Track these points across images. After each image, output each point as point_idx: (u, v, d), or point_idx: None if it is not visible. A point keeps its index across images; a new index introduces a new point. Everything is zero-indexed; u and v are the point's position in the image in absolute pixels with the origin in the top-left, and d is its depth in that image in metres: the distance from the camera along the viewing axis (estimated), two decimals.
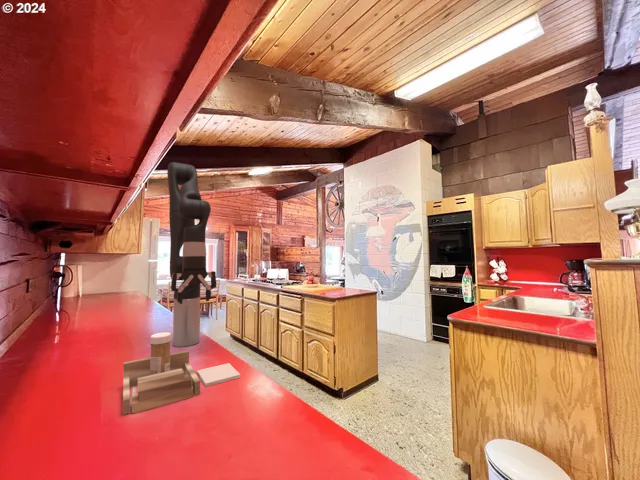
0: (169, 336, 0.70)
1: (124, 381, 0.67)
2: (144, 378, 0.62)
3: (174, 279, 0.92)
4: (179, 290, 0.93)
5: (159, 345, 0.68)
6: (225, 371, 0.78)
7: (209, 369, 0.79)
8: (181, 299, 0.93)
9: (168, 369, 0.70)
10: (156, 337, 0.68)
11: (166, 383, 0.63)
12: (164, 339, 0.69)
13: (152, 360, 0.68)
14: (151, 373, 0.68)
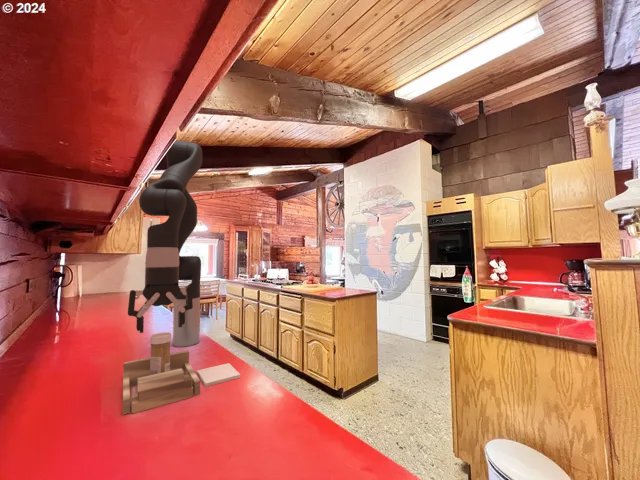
0: (169, 336, 0.70)
1: (124, 381, 0.67)
2: (144, 378, 0.62)
3: (132, 299, 0.66)
4: (139, 314, 0.67)
5: (159, 345, 0.68)
6: (225, 371, 0.78)
7: (209, 369, 0.79)
8: (142, 326, 0.67)
9: (168, 369, 0.70)
10: (156, 337, 0.68)
11: (166, 383, 0.63)
12: (164, 339, 0.69)
13: (152, 360, 0.68)
14: (151, 373, 0.68)
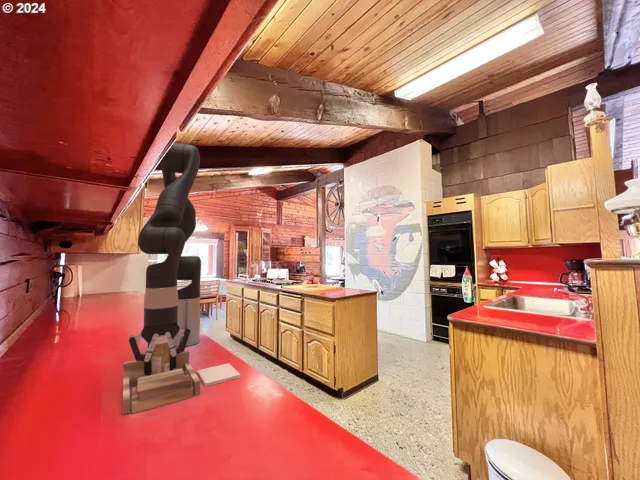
0: None
1: (124, 381, 0.67)
2: (144, 378, 0.62)
3: (133, 346, 0.66)
4: (146, 359, 0.67)
5: (159, 345, 0.68)
6: (225, 371, 0.78)
7: (209, 369, 0.79)
8: (149, 371, 0.68)
9: (168, 369, 0.70)
10: None
11: (166, 383, 0.63)
12: (164, 339, 0.69)
13: (152, 360, 0.68)
14: (151, 373, 0.68)
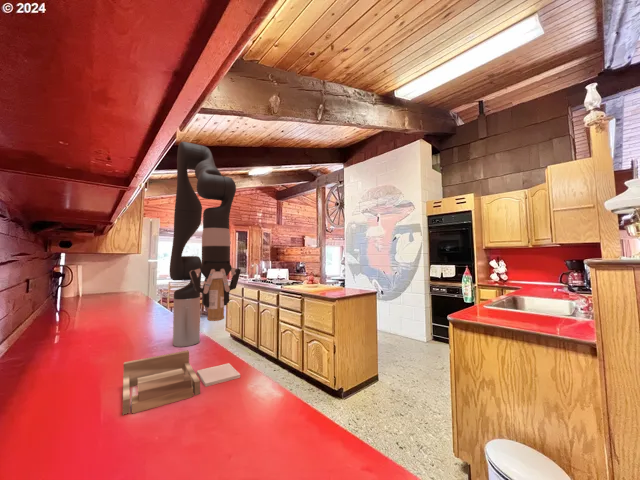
0: None
1: (124, 381, 0.67)
2: (144, 378, 0.62)
3: (194, 278, 0.74)
4: (205, 291, 0.75)
5: (216, 279, 0.76)
6: (225, 371, 0.78)
7: (209, 369, 0.79)
8: (207, 302, 0.75)
9: (223, 302, 0.77)
10: None
11: (166, 383, 0.63)
12: (220, 274, 0.77)
13: (210, 293, 0.76)
14: (209, 304, 0.76)
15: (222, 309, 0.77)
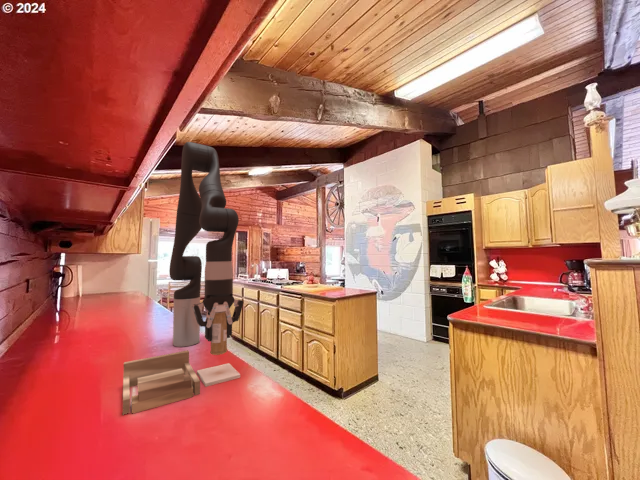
0: None
1: (124, 381, 0.67)
2: (144, 378, 0.62)
3: (197, 313, 0.74)
4: (208, 325, 0.75)
5: (219, 313, 0.76)
6: (225, 371, 0.78)
7: (209, 369, 0.79)
8: (210, 336, 0.75)
9: (226, 335, 0.77)
10: (216, 306, 0.76)
11: (166, 383, 0.63)
12: (223, 307, 0.77)
13: (213, 326, 0.76)
14: (212, 338, 0.76)
15: (225, 342, 0.77)
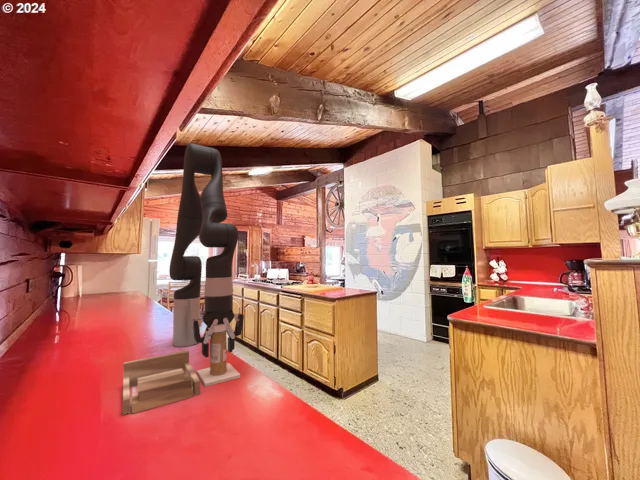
0: None
1: (124, 381, 0.67)
2: (144, 378, 0.62)
3: (196, 328, 0.73)
4: (205, 341, 0.74)
5: (218, 333, 0.76)
6: None
7: (209, 369, 0.79)
8: (207, 352, 0.75)
9: (225, 355, 0.77)
10: (216, 326, 0.76)
11: (166, 383, 0.63)
12: (223, 327, 0.76)
13: (212, 346, 0.75)
14: (211, 358, 0.75)
15: (225, 362, 0.77)
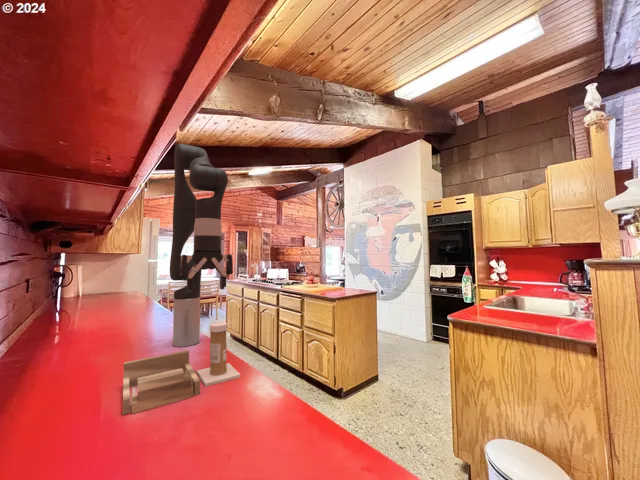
0: (226, 325, 0.78)
1: (124, 381, 0.67)
2: (144, 378, 0.62)
3: (184, 262, 0.76)
4: (190, 275, 0.77)
5: (218, 333, 0.76)
6: None
7: (209, 369, 0.79)
8: (192, 286, 0.77)
9: (225, 355, 0.77)
10: (216, 326, 0.76)
11: (166, 383, 0.63)
12: (222, 327, 0.76)
13: (212, 346, 0.75)
14: (211, 358, 0.75)
15: (225, 362, 0.77)
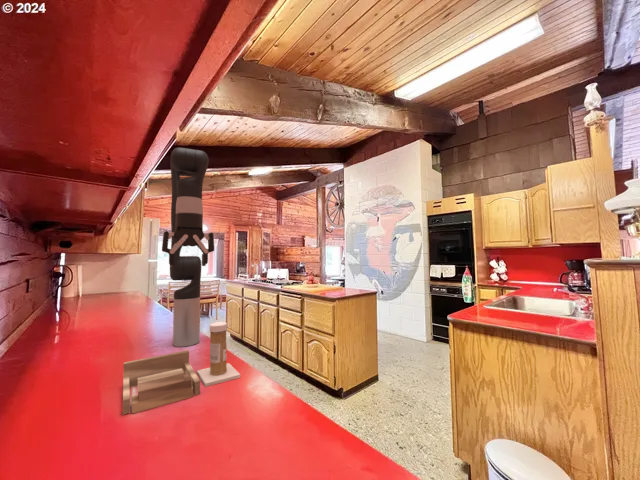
0: (226, 325, 0.78)
1: (124, 381, 0.67)
2: (144, 378, 0.62)
3: (165, 238, 0.80)
4: (171, 251, 0.81)
5: (218, 333, 0.76)
6: None
7: (209, 369, 0.79)
8: (173, 261, 0.81)
9: (225, 355, 0.77)
10: (216, 326, 0.76)
11: (166, 383, 0.63)
12: (222, 327, 0.76)
13: (212, 346, 0.75)
14: (211, 358, 0.75)
15: (225, 362, 0.77)
